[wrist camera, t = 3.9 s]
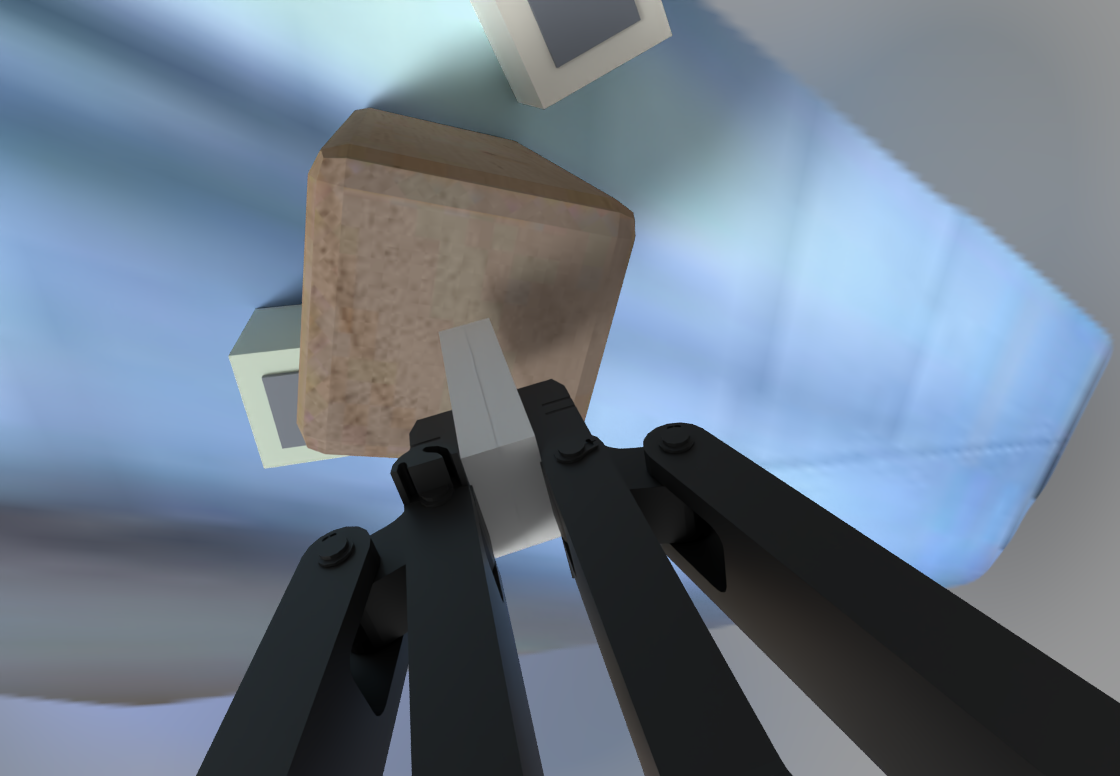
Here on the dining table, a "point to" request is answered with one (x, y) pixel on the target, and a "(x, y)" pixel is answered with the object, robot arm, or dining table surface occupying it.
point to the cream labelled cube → (567, 41)
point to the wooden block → (444, 274)
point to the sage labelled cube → (273, 384)
